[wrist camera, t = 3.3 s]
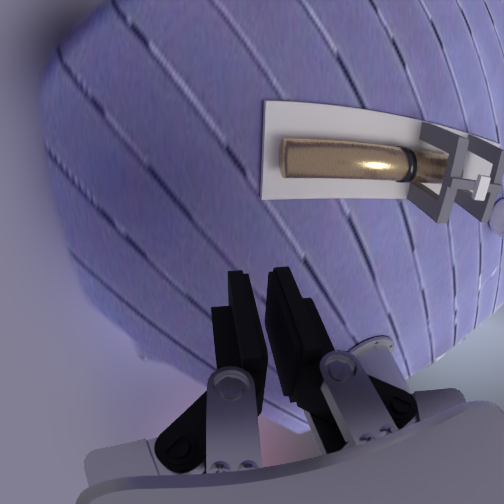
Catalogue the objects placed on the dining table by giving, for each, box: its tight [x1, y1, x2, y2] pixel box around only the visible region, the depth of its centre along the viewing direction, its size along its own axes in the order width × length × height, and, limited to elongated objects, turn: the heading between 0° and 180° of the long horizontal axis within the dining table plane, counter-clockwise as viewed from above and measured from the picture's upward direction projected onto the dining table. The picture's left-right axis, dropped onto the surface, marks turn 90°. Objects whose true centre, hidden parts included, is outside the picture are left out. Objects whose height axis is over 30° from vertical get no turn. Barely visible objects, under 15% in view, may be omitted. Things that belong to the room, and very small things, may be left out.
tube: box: [279, 138, 463, 185], centre depth 29 cm, size 24×4×4 cm, turn 88°
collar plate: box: [260, 100, 504, 223], centre depth 29 cm, size 11×40×9 cm, turn 88°
